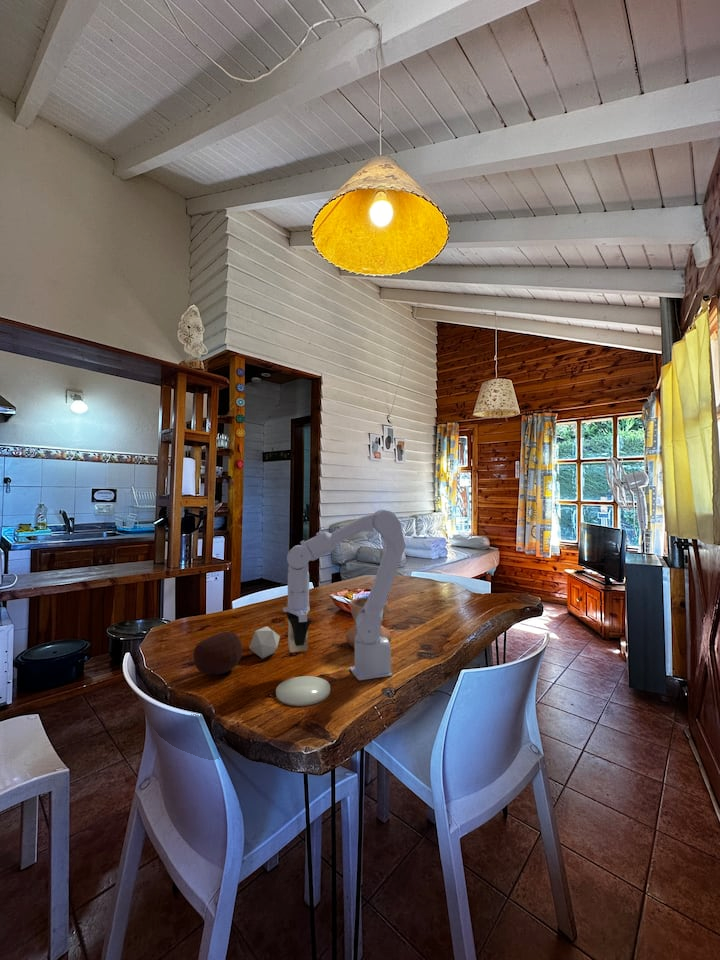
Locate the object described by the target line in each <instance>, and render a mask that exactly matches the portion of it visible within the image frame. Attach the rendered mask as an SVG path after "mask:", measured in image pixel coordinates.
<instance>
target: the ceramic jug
mask: <svg viewBox="0 0 720 960" xmlns="http://www.w3.org/2000/svg"><path fill="white" fill-rule="evenodd" d="M368 597H369V596H368ZM368 597H367V596H366V597H364V596H363V597H362V596H361V597H356V598H352V599H351V600H350V601H349V607H350V613H351V615H352V619H353V621H354V625H353V626H352V627H351V628H350V629H348V630H347V632H346V635H345V639H346V642H347V643H348V645H349V646H351V648H354V649H355V636H356V635H357V626H356V617H357V615H358V614H359V613H360V612H361V611H362V609H363V607H364V604H365V603H366V601H367V600H368ZM387 609H388V601H387V600H386V603H385V605H384V608H383V617H382V621H381V634H380V636H381V637H386V638H387V639H388V641H389V643H390V644H391V640H392V634H391V631H389V629H387V628H386V627H385V626H383V625H382V623H384V619H385V616H386V613H387Z"/></svg>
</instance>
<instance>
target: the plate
mask: <svg viewBox="0 0 720 960" xmlns="http://www.w3.org/2000/svg"><path fill="white" fill-rule="evenodd" d="M330 694H331V684H330V683H329V682H328V681H327V680H326V679H324V678H321V677H317V676H314V675H313V676H311V675H309V676H308V675H307V676H306V675H305V676H304V675H303V676H295V677H291V678H287V679H285V680H284V681H282V682H281V683H279V684H278V686H277V687H276V688H275V697H276V699H277V700H278V701H279V702H280V703H283V704H285V705H288V706H295V707H296V706H297V707H305V706H311V705H315V704H319V703H321V702H323V701H324V700H326V699H327V698H328V697H329V696H330Z"/></svg>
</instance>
